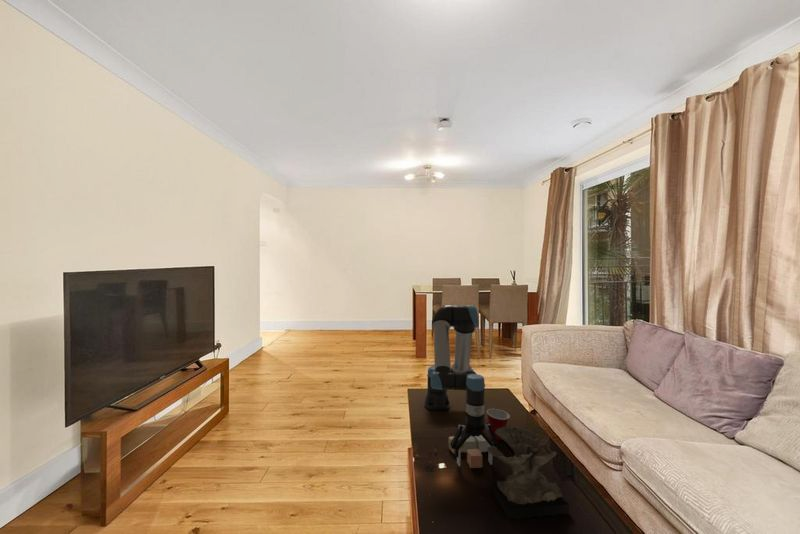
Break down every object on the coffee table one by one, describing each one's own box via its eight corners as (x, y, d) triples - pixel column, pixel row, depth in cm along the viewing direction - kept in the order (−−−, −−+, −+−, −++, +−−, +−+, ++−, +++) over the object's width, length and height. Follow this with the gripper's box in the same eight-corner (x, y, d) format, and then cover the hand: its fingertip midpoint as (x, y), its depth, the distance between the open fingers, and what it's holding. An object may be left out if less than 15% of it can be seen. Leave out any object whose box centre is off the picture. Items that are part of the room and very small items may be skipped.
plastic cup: (511, 444, 155) (511, 418, 155) (487, 442, 156) (487, 417, 156) (507, 432, 165) (507, 408, 165) (485, 431, 167) (485, 407, 167)
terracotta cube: (466, 461, 142) (467, 449, 141) (478, 460, 142) (478, 448, 142) (470, 468, 137) (470, 456, 136) (482, 467, 137) (482, 455, 137)
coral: (497, 520, 109) (498, 455, 109) (477, 480, 129) (478, 424, 129) (570, 515, 111) (571, 451, 111) (539, 477, 131) (540, 422, 131)
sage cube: (462, 446, 153) (462, 435, 153) (473, 446, 153) (473, 435, 153) (464, 452, 148) (464, 441, 148) (475, 452, 148) (475, 441, 148)
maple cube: (448, 447, 152) (448, 437, 151) (458, 446, 153) (458, 435, 153) (453, 454, 147) (453, 442, 147) (463, 452, 148) (463, 441, 148)
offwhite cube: (474, 446, 153) (474, 435, 153) (484, 445, 154) (484, 434, 154) (479, 452, 148) (479, 441, 148) (489, 451, 149) (489, 440, 149)
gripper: (447, 418, 134) (447, 470, 134) (507, 416, 136) (507, 467, 137) (443, 410, 142) (443, 459, 142) (500, 408, 144) (499, 457, 144)
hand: (474, 463), depth 139 cm, fingers open, 13 cm apart
